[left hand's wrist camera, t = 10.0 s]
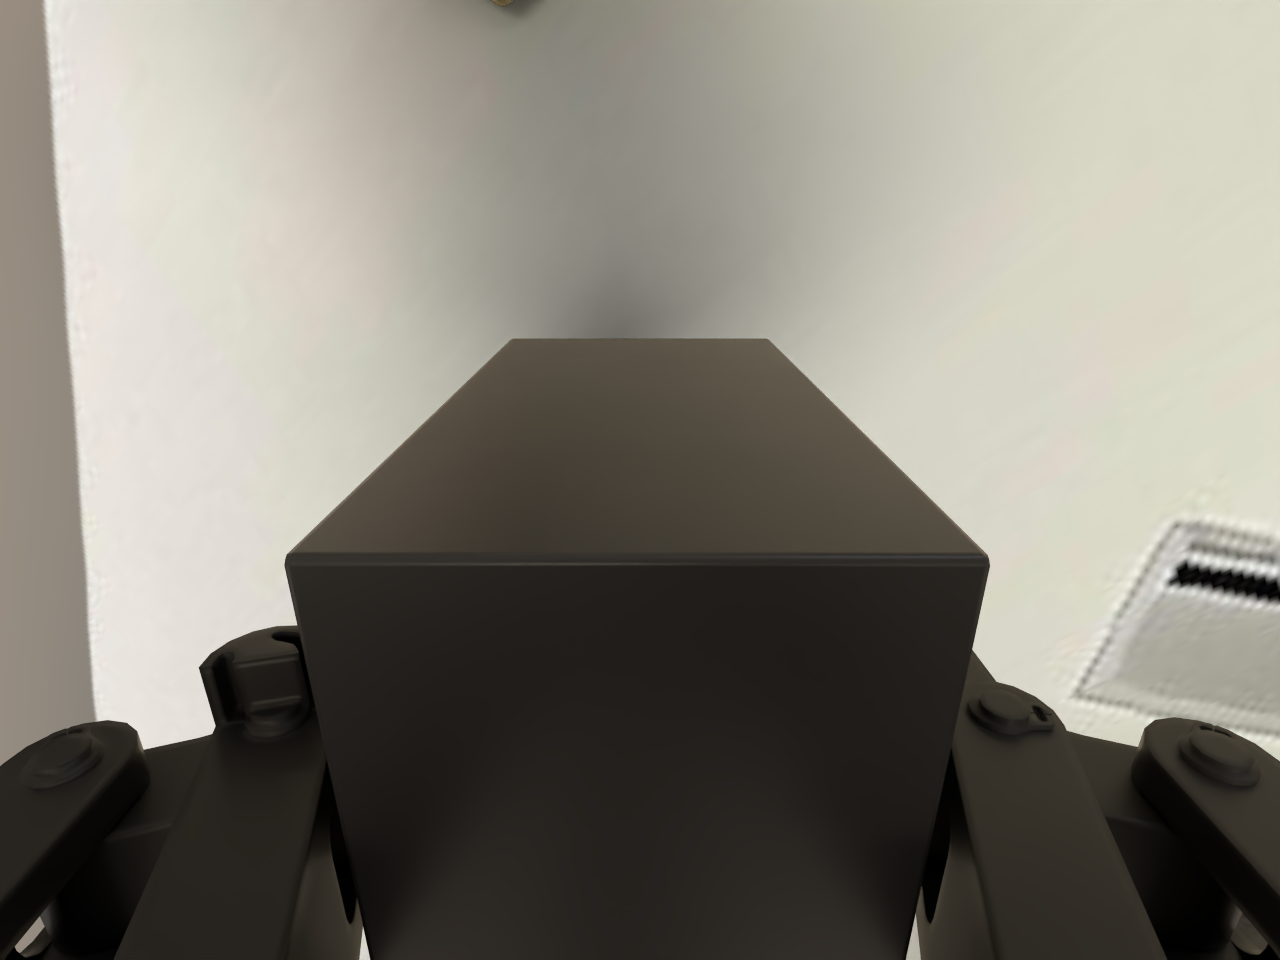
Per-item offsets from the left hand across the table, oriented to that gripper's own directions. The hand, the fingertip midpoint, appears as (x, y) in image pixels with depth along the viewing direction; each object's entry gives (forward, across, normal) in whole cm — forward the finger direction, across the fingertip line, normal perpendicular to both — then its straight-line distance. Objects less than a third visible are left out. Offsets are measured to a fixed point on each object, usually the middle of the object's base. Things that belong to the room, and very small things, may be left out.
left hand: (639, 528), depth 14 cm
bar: (+1, 0, -10) cm, 10 cm away
